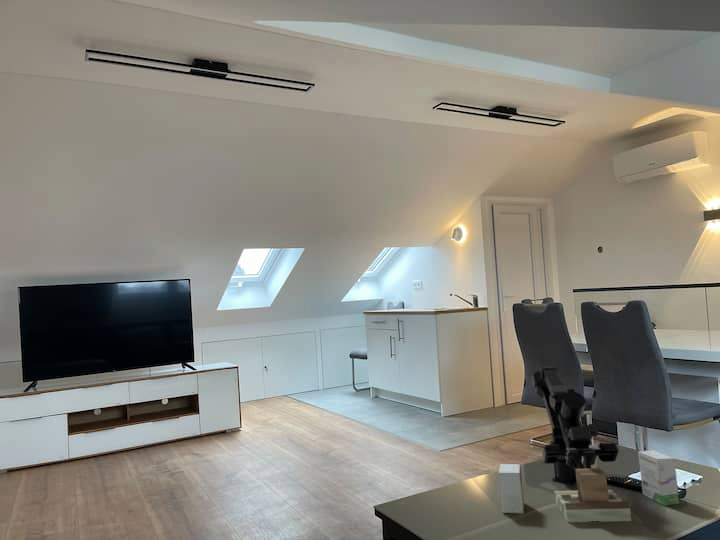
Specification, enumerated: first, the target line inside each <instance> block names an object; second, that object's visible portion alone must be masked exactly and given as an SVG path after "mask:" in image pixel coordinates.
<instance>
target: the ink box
mask: <svg viewBox="0 0 720 540" xmlns="http://www.w3.org/2000/svg"><path fill="white" fill-rule="evenodd" d="M638 463H639V469H640V479H641V489H642V495H644V496H645V497H646V498H649V499H650V500H652V501H654V502H656V503H657V504H659V505H661V506H664V507H665V506H673V505H678V504H680V495H679V489H678V488H679V487H678V486H679V485H678V480H677V471H676V465H675V464H676V463H675V458H674V457H671V456H669V455H666V454H664V453H661V452H659V451H657V450H640V451H638Z"/></svg>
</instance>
